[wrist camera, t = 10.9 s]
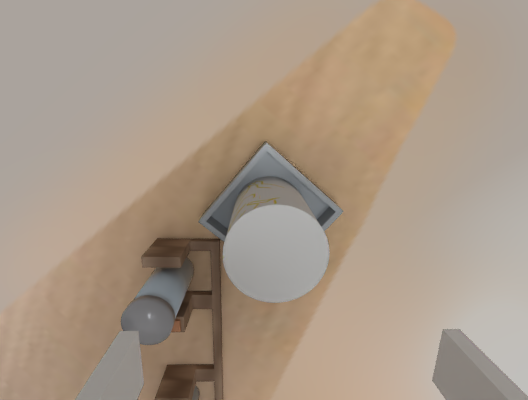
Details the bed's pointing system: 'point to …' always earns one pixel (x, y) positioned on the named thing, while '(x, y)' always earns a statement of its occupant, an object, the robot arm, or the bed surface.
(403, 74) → the bed surface
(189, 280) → the grey rounded cylinder
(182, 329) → the clip rack
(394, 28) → the bed surface
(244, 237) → the light grey canister
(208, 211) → the tray
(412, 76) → the bed surface
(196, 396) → the fuse
